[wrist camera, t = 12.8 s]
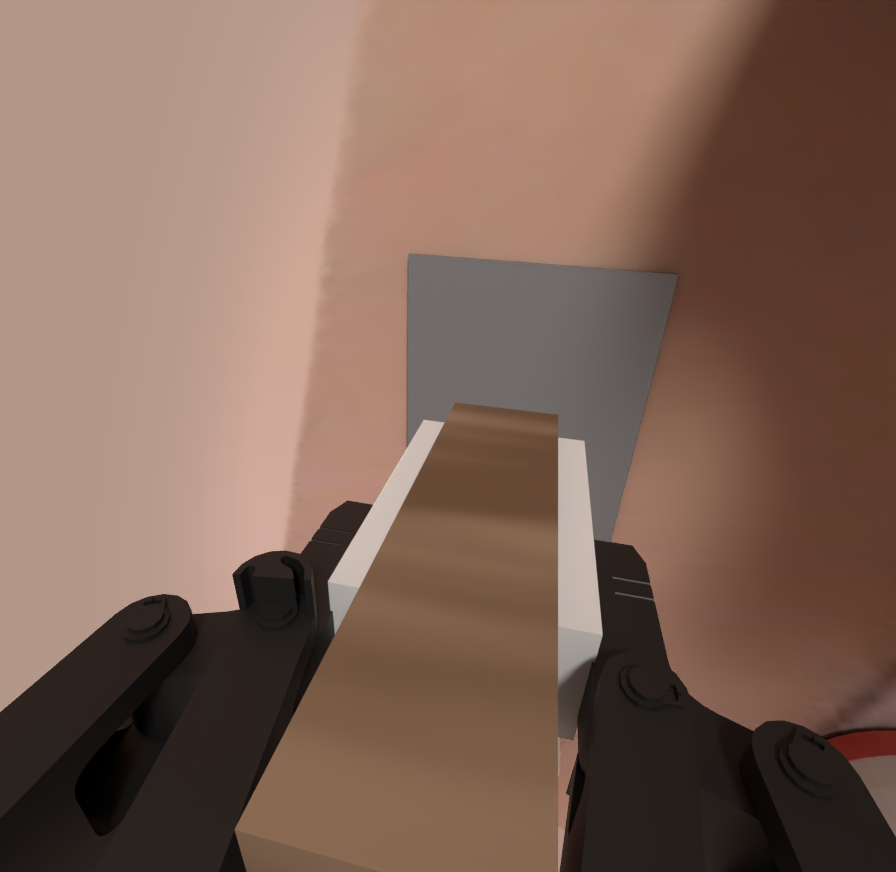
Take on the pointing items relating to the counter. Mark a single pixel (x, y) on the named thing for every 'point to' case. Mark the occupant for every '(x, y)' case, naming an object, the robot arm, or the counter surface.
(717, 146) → the counter surface
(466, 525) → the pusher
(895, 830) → the citrus juicer
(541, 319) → the grey board
